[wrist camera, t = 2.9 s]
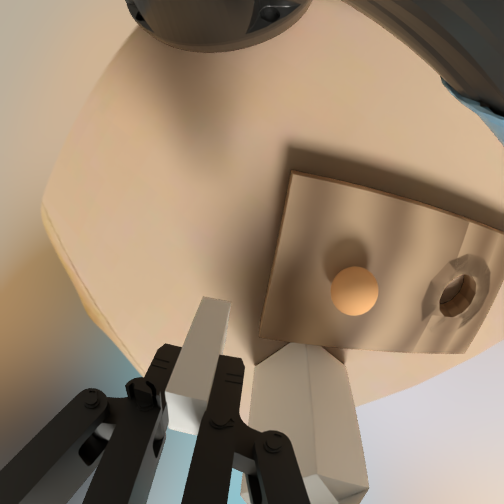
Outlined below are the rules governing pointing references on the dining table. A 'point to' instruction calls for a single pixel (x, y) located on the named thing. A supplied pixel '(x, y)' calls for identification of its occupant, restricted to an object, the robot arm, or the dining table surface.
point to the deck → (378, 270)
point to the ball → (354, 291)
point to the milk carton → (312, 421)
